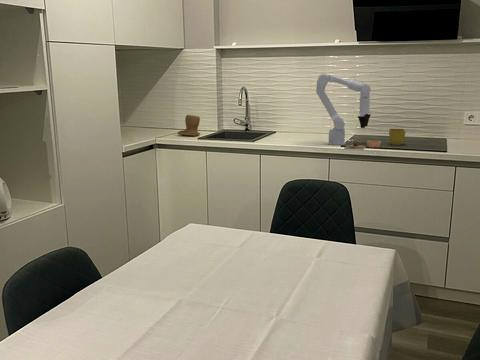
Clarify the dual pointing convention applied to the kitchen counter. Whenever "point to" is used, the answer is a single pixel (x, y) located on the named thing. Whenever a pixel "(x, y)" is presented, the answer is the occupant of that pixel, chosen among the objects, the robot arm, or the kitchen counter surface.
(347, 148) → the mat
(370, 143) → the bowl
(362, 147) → the lid
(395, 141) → the flower pot
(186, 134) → the brown hat
